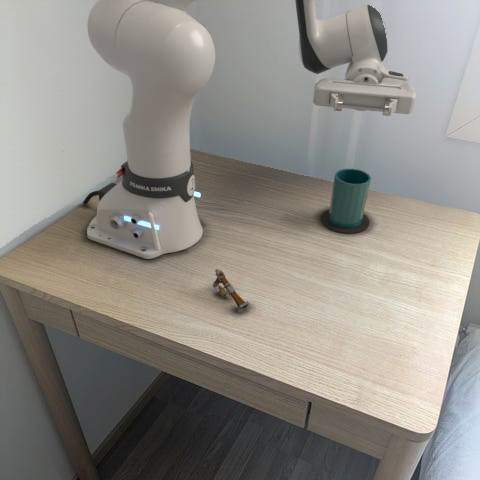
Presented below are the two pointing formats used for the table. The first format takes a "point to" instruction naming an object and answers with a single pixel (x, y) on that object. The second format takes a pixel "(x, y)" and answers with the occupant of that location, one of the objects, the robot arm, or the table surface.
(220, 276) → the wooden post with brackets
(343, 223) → the cup
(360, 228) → the coaster
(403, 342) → the table surface
